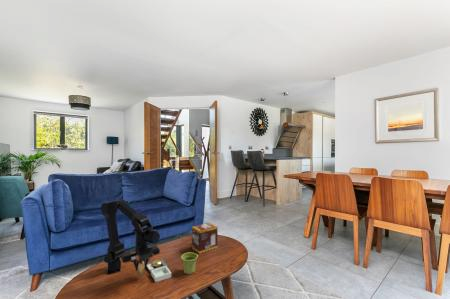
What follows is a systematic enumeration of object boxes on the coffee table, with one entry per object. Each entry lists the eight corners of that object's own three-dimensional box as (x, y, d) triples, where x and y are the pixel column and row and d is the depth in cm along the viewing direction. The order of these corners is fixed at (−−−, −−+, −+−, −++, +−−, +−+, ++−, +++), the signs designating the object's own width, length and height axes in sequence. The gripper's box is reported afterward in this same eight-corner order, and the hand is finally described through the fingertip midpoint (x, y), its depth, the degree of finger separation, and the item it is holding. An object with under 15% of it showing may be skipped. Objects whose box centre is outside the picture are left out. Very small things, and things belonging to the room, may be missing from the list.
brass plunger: (153, 268, 126) (153, 265, 126) (151, 264, 131) (151, 261, 131) (162, 265, 129) (162, 262, 129) (160, 261, 134) (160, 258, 134)
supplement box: (191, 248, 155) (191, 226, 156) (209, 243, 165) (209, 222, 165) (199, 253, 147) (199, 230, 147) (217, 247, 156) (217, 226, 157)
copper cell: (137, 275, 115) (137, 261, 115) (136, 271, 118) (136, 258, 119) (145, 272, 117) (145, 259, 118) (143, 269, 121) (143, 256, 121)
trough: (155, 282, 115) (155, 277, 115) (150, 274, 122) (150, 270, 122) (171, 277, 120) (171, 272, 120) (165, 270, 127) (166, 265, 127)
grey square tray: (150, 273, 123) (150, 271, 123) (145, 265, 131) (145, 263, 131) (168, 268, 129) (168, 266, 129) (162, 261, 137) (162, 259, 137)
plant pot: (197, 266, 131) (197, 251, 131) (198, 275, 122) (198, 259, 122) (181, 267, 129) (181, 253, 129) (180, 276, 120) (180, 260, 120)
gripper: (125, 250, 106) (124, 282, 106) (163, 241, 117) (162, 271, 117) (121, 242, 116) (120, 272, 115) (156, 235, 126) (156, 262, 126)
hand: (140, 269), depth 118 cm, fingers closed on copper cell, 4 cm apart
